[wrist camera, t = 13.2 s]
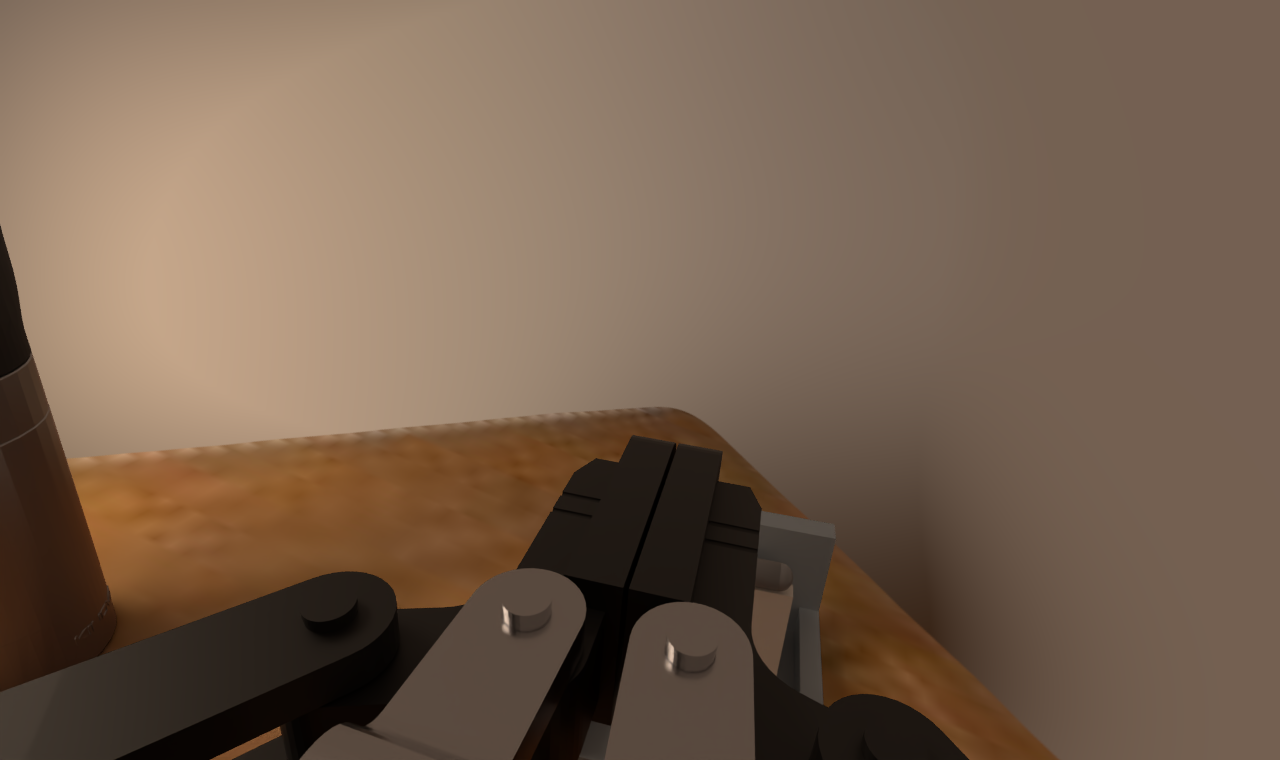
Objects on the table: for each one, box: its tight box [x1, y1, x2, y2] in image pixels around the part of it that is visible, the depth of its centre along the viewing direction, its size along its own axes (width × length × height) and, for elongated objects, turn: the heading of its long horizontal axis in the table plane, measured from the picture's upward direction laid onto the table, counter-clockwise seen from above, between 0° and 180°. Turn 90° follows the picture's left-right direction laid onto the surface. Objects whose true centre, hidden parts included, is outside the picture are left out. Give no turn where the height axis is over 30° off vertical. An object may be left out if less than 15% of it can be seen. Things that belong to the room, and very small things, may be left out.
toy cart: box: [752, 558, 793, 675], centre depth 35 cm, size 7×10×13 cm
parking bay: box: [578, 511, 836, 760], centre depth 37 cm, size 13×14×8 cm
